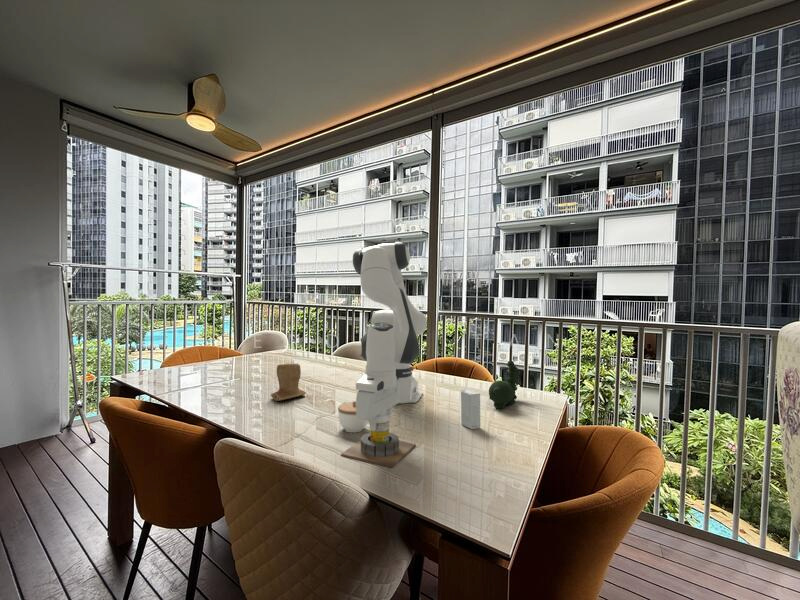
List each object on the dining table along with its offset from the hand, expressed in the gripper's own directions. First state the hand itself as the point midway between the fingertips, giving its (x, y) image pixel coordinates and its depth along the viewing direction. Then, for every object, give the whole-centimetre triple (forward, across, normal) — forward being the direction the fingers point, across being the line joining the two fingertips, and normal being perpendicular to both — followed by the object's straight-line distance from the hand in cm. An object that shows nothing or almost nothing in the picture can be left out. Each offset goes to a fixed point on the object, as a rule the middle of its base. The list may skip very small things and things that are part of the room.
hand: (379, 426), depth 109 cm
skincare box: (+7, -33, +18) cm, 39 cm away
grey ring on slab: (+7, 0, 0) cm, 7 cm away
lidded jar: (+7, -11, -16) cm, 21 cm away
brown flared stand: (+8, -29, -62) cm, 69 cm away
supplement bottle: (+5, 0, 0) cm, 5 cm away
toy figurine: (+7, -65, +24) cm, 70 cm away
